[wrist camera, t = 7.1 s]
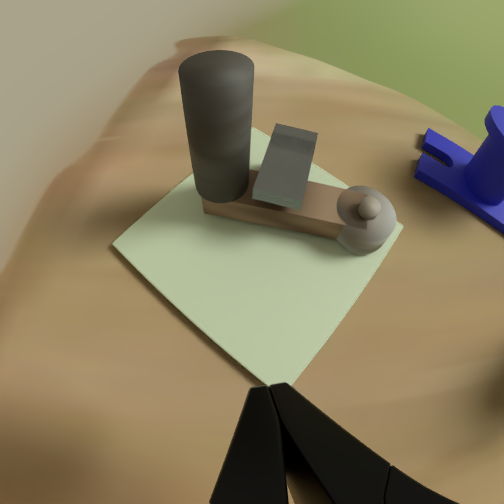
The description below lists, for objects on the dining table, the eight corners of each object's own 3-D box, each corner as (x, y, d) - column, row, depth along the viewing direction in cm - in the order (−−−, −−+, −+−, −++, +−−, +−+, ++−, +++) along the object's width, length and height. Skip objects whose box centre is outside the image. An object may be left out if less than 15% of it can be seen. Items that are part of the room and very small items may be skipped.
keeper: (306, 177, 26) (317, 133, 21) (291, 242, 23) (302, 200, 19) (270, 169, 26) (275, 123, 22) (250, 231, 23) (252, 188, 19)
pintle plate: (280, 396, 18) (281, 396, 18) (114, 247, 22) (112, 243, 22) (400, 230, 24) (403, 226, 23) (252, 131, 28) (252, 127, 28)
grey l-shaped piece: (385, 209, 24) (448, 99, 14) (385, 259, 22) (468, 154, 12) (207, 172, 24) (195, 45, 15) (190, 219, 22) (163, 88, 13)
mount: (524, 202, 27) (566, 157, 19) (526, 252, 24) (579, 206, 16) (424, 135, 30) (455, 74, 22) (413, 178, 27) (454, 109, 19)
